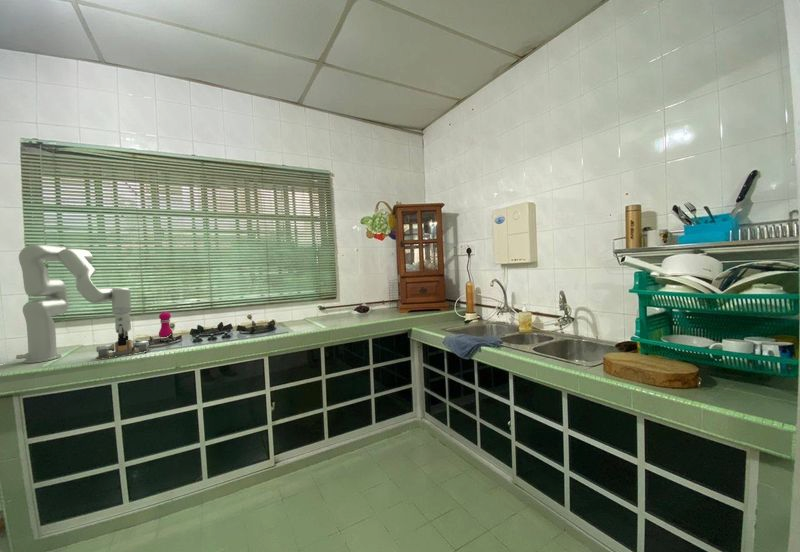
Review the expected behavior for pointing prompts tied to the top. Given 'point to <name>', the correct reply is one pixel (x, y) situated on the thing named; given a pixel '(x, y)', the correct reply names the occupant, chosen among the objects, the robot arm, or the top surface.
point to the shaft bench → (104, 351)
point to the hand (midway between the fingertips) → (123, 344)
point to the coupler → (125, 347)
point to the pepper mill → (165, 324)
